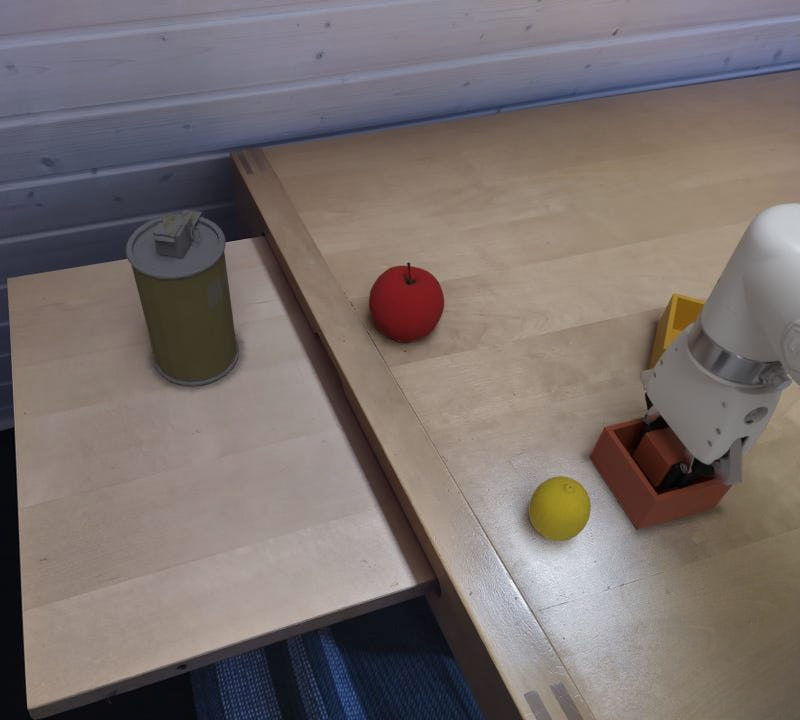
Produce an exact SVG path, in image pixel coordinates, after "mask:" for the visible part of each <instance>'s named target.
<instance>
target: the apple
mask: <svg viewBox="0 0 800 720" xmlns="http://www.w3.org/2000/svg"><path fill="white" fill-rule="evenodd" d="M374 281H375V282H374V283H373V285H372V287H371V289H370V292H369V297H368V308H369V312H370V316H371V318H372V321H373V322H374V324H375V326H376V327H377V329H378V330H379V331H380V332H381V333H382V334H384V335H385V336H387V337H388V338H390V339H393V340H396V341H398V342H401V343H411V342H415V341H419V340H421V339H423V338H426V337H427V336H428V335H429V334H431V333H432V332H433V331H434V330H435V329H436V327H437V325H438V324H439V322H440V320H441V318H442V315H443V313H444V308H445V296H444V291H443V289H442V286H441V283H440V282H439V280H438V279H437V278H436V276H434V275H433V273H431V272H429V271H428V270H426V269H423V268H422V267H417V266H411V262H406V265H396V266H391V267H389V268H388V269H386V270H384V272H382V273H381V274H380V275H378V277H377V278H376V280H374Z"/></svg>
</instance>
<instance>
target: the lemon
mask: <svg viewBox="0 0 800 720" xmlns="http://www.w3.org/2000/svg"><path fill="white" fill-rule="evenodd" d="M591 509H592V504H591V498H590V495H589V493H588V491H587V490H586V489H585V487H584V485H582V484H581V482H579V481H577V480H576V479H574V478H572V477H568V476H563V475H560V476H553V477H549V478H548V479H546V480H544V481H543V482H541V483H540V484H539V486H537V488H536V489H535V490H534V491H533V493H532V495H531V498H530V500H529V503H528V515H529V519H530V522H531V525H532V526H533V528H534V529H535V530H536V531H537V532H538V533H539V534H540V535H541V536H542V537H544V538H546V539H548V540H552V541H557V542H558V541H559V542H563V541H568V540H571V539H573V538H575V537H577V536H578V535H580V533H581V532H582V531H584V529H585V528H586V525H587V524H588V522H589V520H590V515H591V511H592V510H591Z"/></svg>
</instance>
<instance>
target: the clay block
mask: <svg viewBox="0 0 800 720" xmlns="http://www.w3.org/2000/svg"><path fill="white" fill-rule="evenodd" d="M685 449H686V447H685V445H684V444H683V443H682V442H681V440H680V439H679V438H678V436H677V435H676V434H675V433H674V431H673V430H672V429H671V427H666V428H663V429H659V430H655V431H651V432H647V433H645V435H644V436H643V438H642V440H641V442H640V443H639V445H638V447H637V449H636V450H635V452H634V454H633V457H634V458H635V459H636V461H637V462H638V464H639V465H640V467H641V468H642V469H643V471H644V472H645V474H646V475H647V476H648V478H649V479H650V481H651V482H652V484H653V485H654V486H655V487H656V486H659V485H661V483H662V481H663V480H664V478H665V477H666V475H667V474H668V472H669V470H670V469H671V467H672V466H673V465H674V464H675V463H678V462H681V460H682V457H683V454H684V452H685Z"/></svg>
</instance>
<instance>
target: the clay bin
mask: <svg viewBox="0 0 800 720" xmlns="http://www.w3.org/2000/svg"><path fill="white" fill-rule="evenodd" d="M645 425H646V423H645V421H644V416H641V417H638V418H634V419H630V420H626V421H622V422H617V423H615V424H610V425H606V426H604V427H603V429H602V431H601V433H600V435H599V437H598V439H597V441H596V443H595V445H594V447H593V449H592V450H591V454H590V455H589V460H590V461H591V462H592V464H593V466H594V467H595V468H596V470H597V471H598V473H599V474H600V476H601V477H602V479H603V481H604V482H605V484H606V485H607V487H608V488H609V490H610V491H611V493H612V495H613V496H614V497H615V500H617V502H618V504H619V505H620V506H621V508H622V509H623V511H624V512H625V514H626V516H627V518H628V519H629V520H630V522H631V523H632V525H633V526H634V528H635V530H636V531H639V530H642V529H645V528H649V527H652V526H656V525H659V524H662V523H666V522H670V521H674V520H677V519H679V518H683V517H687V516H690V515H694V514H697V513H700V512H701V513H702V512H703V511H707V510H711V509H715V508H716V507H717V505H718V504H719V503H720V502H721V501H722V499H723V498H724V497H725V496H726V494H727V493H728V491H730V490H731V488H732V487H733V485H729V486H726V485H724V484H722V483H720V482H718V481H716V480H714V478H713V477H711V476H710V477H705V476H701V475H698V477H697V478H696V479H695V481H694V482H693V484H692V485H690V486H688V487H685V488H681V489H678V488H677V487H674V488H671V489H667V490H663V488H662V487H661V485H659V486H656V487H655V486H654V485H653V484H652V482H651V481H650V479H649V478H648V476H647V475H646V474H645V472H644V471H643V469H642V468H641V467H640V465H639V464H638V462H637V461H636V459H635V458H634V457H633V454H634V452H635V449H634V446H635V444H636V442H637V441H638V439H639V437H640V433H641V432H642V430H643V428H644V426H645ZM717 460H720V458H719V459H717Z"/></svg>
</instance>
